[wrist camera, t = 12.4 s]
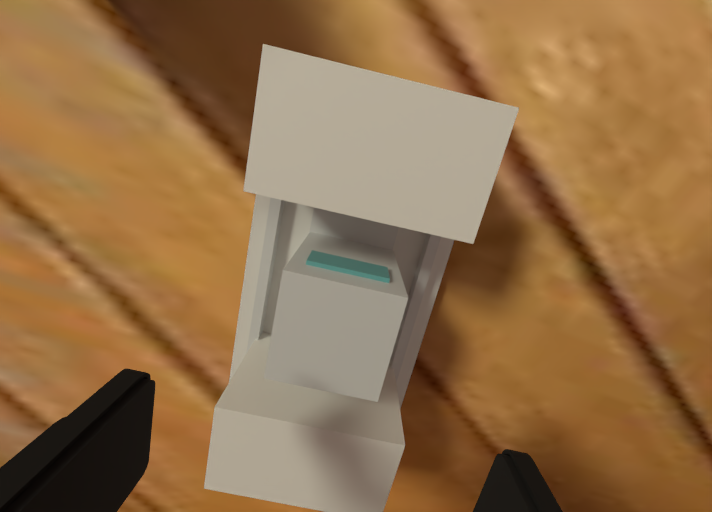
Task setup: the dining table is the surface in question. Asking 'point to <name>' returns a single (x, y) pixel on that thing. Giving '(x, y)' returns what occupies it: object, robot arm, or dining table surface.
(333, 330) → the block
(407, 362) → the white channel bracket
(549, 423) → the dining table surface
